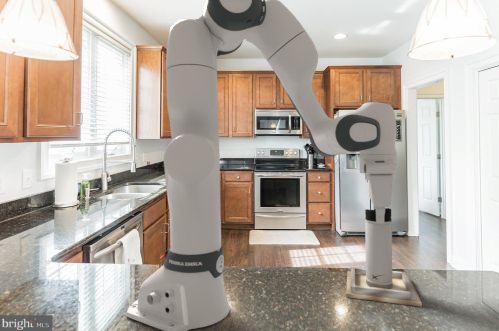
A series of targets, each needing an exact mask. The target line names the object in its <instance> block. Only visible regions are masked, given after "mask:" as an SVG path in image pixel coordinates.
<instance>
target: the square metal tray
mask: <svg viewBox="0 0 499 331" xmlns="http://www.w3.org/2000/svg"><path fill="white" fill-rule="evenodd" d="M346 276H347V277H346V292H345V295H346V296H345V298H350V299H359V300H366V301H367V300H368V301H375V302H382V303H391V304H399V305H406V306H412V307H413V306H414V307H415V306H416V307H421V308H422V305H423V303H422V301H421V299H420V296H419V294H418V293H417V290H416V289H415V286H414V285H413V282H412V280H411V278H410V276H408V275H407V272H406V271H396V270H392V281H393V286H392V288H390V289H384V288H375V287H370V286H369V285H367V283H366V267H365V268H363V267H352V266H351V267H350V270H347V274H346Z"/></svg>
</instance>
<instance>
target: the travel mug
mask: <svg viewBox="0 0 499 331" xmlns="http://www.w3.org/2000/svg"><path fill="white" fill-rule="evenodd" d="M364 211H365V212H364V215H365V219H364V220H365V223H364V227H365V235H364V236H365V268H366V283H367V285H369V286H370V287H375V288H384V289H390V288H392V286H393V281H392V271H393V231H392V230H393V228H392V227H393V224H392V222H393V221H392V209H391V208H390V207H385V215H384V223H377V222H376V209H374V208H373V209H367V208H366V209H365V210H364Z"/></svg>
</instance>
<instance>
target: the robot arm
mask: <svg viewBox="0 0 499 331" xmlns="http://www.w3.org/2000/svg"><path fill="white" fill-rule="evenodd" d="M203 8H204V9H203V11H202V15H201V16H200V17H199V18H195V19H192V18H186V19H185V18H184V19H180V20H178V21H177V22H175V23H174V24H172V26H171V27H170V29H169V33H168V38H167V45H166V57H165V74H166V75H165V77H166V80H165V81H166V84H165V85H166V105H167V106H166V109H167V113H168V114H167V115H168V119H169V128H170V135H171V136H170V137H171V141H170V142H169V143H168V145H166V148H165V151H164V154H163V167H164V177H165V187H166V195H167V203H168V210H169V231H170V232H169V233H170V234H169V235H170V237H169V238H170V241H169V242H170V243H169V244H170V247H169V248H167V249H166V250H165V251H163V252H162V253H159V256H160V257H159V259H160V260H162V259H164V258H165V260H164V262H163V265H162V266H161V267H159V268H158V269H156V271H154V272H153V273H152V274H150V276H149V277H147V278H145V280H144V281H143V282H142V283H141V285H140V287H139V291H138V296H137V300H135V301H134V302H133V303H132V304H131V305H129V307H127V311H126V317H127V318H129V319H132V320H135V321H137V322H140V323H143V324H145V325H147V326H150V327H153V328H155V329H158V330H161V331H189V330H192V329H193V330H194V329H199V328H205V327H208V326H211V325H214V324H217V323H219V322H221V321H222V320H223V319H225V318H226V317H227V316H228V314H229V313H230V309H231V306H230V304H229V300H228V297H227V294H226V288H225V281H224V267H225V260H224V259H225V258H224V246H223V245H222V228H221V227H222V220H221V209H222V208H221V174H220V173H221V171H220V170H221V168H220V166H221V164H220V162H221V161H220V160H221V159H220V157H221V156H220V155H221V154H220V127H219V126H220V125H219V96H218V95H219V93H218V68H217V67H218V65H217V58H218V57H220V56H226V55H230V54H232V53H234V52H236V51H237V50H238V49H239V48H240V47H241V46H242V45H243V42H244V40H245V41H246V42H249V43H250V44H252V45H253V46H255V47H256V48H257V49H258V50H259V51H260V52H261V54H262V56H263V57H264V59H265V60H266V62H267V63H268V64H269V66H270V67H271V69H272V70H273V72H274V74H276V76H277V78H278V80H279V81H280V84H281V85H282V87H283V89H284V91H285V93H286V95H287V98H289V100H290V102H291V104H292V107H294V109H295V110H296V112H297V114H298V116H299V117H300V119H301V121H302V122H303V124H304V126H305V128H306V130H307V133H308V137H309V140H310V144H311V147H312V148H313V150H314V151H315V152H316V154H319V155H320V156H322V157H328V158H329V157H334V156H338V155H348V154H349V155H350V154H355V153H359V174H360V173H361V174H364V179H365V180H367V181H368V196H369V199H370V200H371V203H372V207H373V210H374V209H376V222H377V223H384V215H385V208H390V207H391V205H392V204H391V203H392V199H393V186H394V185H393V184H394V175H396V174H397V173H398V152H397V149H396V141H397V135H398V134H397V119H396V113H395V110H394V108H393V106H392V105H391V104H389V103H387V102H383V101H367V102H365V103H363V104H362V105H361V106H360V107H359V108H357V109H355V110H353V111H351V112H349V113H346V114H344V115H340V116H338V117H335V118H331V117H329V116H328V115H327V114H326V112H325V110H324V109H323V106H322V105H321V104H320V102H319V100H318V98H317V96H316V94H315V93H314V92H315V91H314V89H313V79H314V76H315V73H316V70H317V67H318V65H319V64H318V62H319V53H318V50H317V47H316V45H315V42H313V40H312V38H311V36H310V35H309V34H308V32H307V31H306V29H305V28H304V27H303V25H302V24H301V22H300V21H299V20H298V18H297V17H296V16H295V15H294V13H293V12H291V10H289V8H288V7H286V5H284V3H283V2H281V1H280V0H206V1H205V5H204V7H203Z"/></svg>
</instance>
